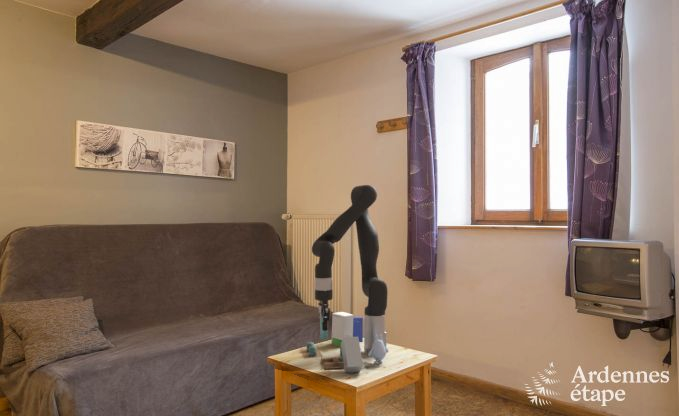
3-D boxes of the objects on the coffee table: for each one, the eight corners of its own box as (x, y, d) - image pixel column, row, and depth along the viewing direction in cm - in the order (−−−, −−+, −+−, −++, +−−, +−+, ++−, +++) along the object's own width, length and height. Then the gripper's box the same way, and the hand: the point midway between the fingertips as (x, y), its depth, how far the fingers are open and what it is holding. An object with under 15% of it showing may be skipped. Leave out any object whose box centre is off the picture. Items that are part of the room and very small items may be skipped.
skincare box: (330, 346, 220) (331, 313, 220) (341, 343, 225) (341, 311, 225) (343, 350, 214) (343, 315, 214) (353, 347, 219) (353, 313, 219)
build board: (346, 362, 196) (346, 340, 196) (351, 368, 189) (351, 346, 189) (320, 364, 194) (321, 342, 194) (324, 370, 186) (324, 347, 186)
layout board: (317, 351, 212) (317, 340, 212) (323, 359, 200) (323, 348, 200) (300, 352, 211) (300, 341, 211) (304, 360, 198) (304, 349, 198)
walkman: (361, 340, 231) (361, 316, 231) (362, 342, 228) (362, 317, 228) (345, 340, 230) (346, 316, 230) (346, 342, 227) (346, 317, 228)
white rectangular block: (355, 342, 192) (358, 336, 188) (359, 371, 185) (363, 366, 180) (340, 343, 191) (343, 337, 186) (345, 372, 183) (347, 367, 179)
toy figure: (383, 359, 201) (383, 331, 201) (392, 363, 196) (393, 334, 196) (363, 363, 195) (363, 334, 195) (373, 367, 190) (373, 338, 190)
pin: (327, 337, 199) (326, 315, 199) (328, 339, 196) (328, 317, 196) (319, 337, 198) (319, 316, 198) (321, 339, 195) (320, 318, 195)
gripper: (311, 286, 203) (312, 325, 203) (317, 291, 190) (318, 334, 190) (328, 285, 205) (329, 324, 205) (335, 290, 191) (336, 332, 191)
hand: (324, 329), depth 197 cm, fingers closed on pin, 3 cm apart
